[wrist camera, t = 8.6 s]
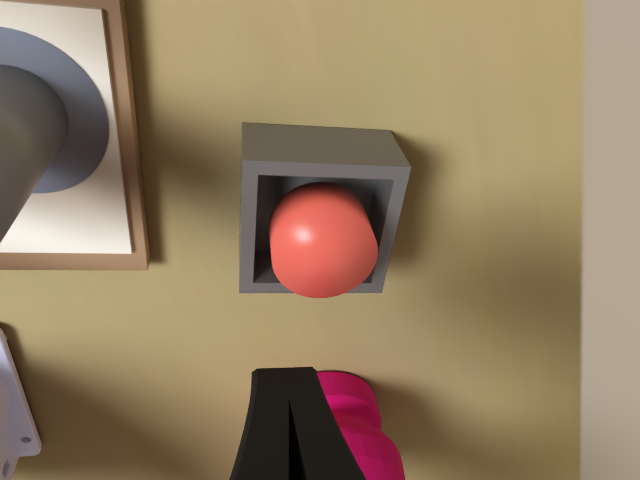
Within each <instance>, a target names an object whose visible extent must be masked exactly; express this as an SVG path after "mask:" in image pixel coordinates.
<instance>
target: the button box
mask: <svg viewBox="0 0 640 480" xmlns="http://www.w3.org/2000/svg"><path fill="white" fill-rule="evenodd" d="M410 171H411V166H410V164H409V162H408V160H407V159H406V157H405V155H404V153H403V152H402V150H401V148H400V147H399V145H398V143H397V141H396V140H395V138H394V136H393V134H392V133H391V131H390V130H372V129H353V128H335V127H316V126H297V125H278V124H259V123H242V155H241V195H240V235H239V293H294V292H292V291H290V290H289V289H287V288H286V287H285V286H284V285H283V284H282V283H281V282H280V281H279V280H278V279H277V277H276V275H275V273H274V270H273V267H272V260H271V248H270V236H269V219H270V215H271V212H272V210H273V208H274V206H275V205H276V203H277V202H278V201H279V200H280V199H281V198H282V197H283V196H284V195H285V194H286V193H288V192H289V191H291V190H292V189H294V188H296V187H298V186H301V185H303V184H307V183H312V182H331V183H336V184H339V185H342V186H344V187H346V188H348V189H349V190H351V191H352V192H353V193H354V194H355V195H357V197H358V198H359V199H360V200H361V202H362V204H363V206H364V209H365V211H366V214H367V217H368V220H369V222H370V225H371V228H372V230H373V233H374V236H375V239H376V241H377V246H378V256H377V261H376V264H375V266H374V268H373V270H372V272H371V273H370V275H369V276H368V277H367V278H366V279H365V280H364V281H363V282H362V283H361V284H359V285H358V286H357V287H355V288H354V289H352V290H350V291H348V292H346V293H382V289H383V285H384V281H385V276H386V272H387V268H388V264H389V260H390V255H391V251H392V247H393V243H394V239H395V234H396V230H397V226H398V222H399V217H400V213H401V209H402V205H403V201H404V196H405V192H406V188H407V184H408V179H409V175H410Z"/></svg>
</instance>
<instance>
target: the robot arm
mask: <svg viewBox="0 0 640 480" xmlns="http://www.w3.org/2000/svg"><path fill="white" fill-rule="evenodd" d="M41 448H42V444H41V441H40V438H39V435H38V432H37V429H36V426H35V423H34V420H33V417H32V414H31V411H30V408H29V405H28V402H27V400H26V397H25V394H24V391H23V388H22V385H21V382H20V379H19V376H18V373H17V370H16V367H15V364H14V361H13V358H12V356H11V353H10V350H9V347H8V344H7V341H6V338H5V335H4V332H3V331H2V329H1V328H0V480H11V479H12V476H13V473H14V471H15V468H16V465H17V462H18V460H19V457H21V456H34V455H37V454H39V453H40V451H41ZM229 480H367V479H366V478H365V476H364V474H363V472H362V471H361V469H360V467H359V465H358V463H357V462H356V460H355V458H354V456H353V454H352V452H351V450H350V448H349V446H348V444H347V442H346V440H345V438H344V436H343V434H342V432H341V430H340V428H339V426H338V424H337V422H336V420H335V417H334V415H333V413H332V411H331V409H330V406H329V404H328V401H327V399H326V397H325V394H324V392H323V389H322V386H321V383H320V381H319V378H318V375H317V371H316V370H315V369H314V368H313V367H295V368H262V369H256V370H255V371H253V372H252V383H251V396H250V402H249V408H248V413H247V418H246V422H245V427H244V431H243V435H242V438H241V442H240V446H239V449H238V453H237V457H236V460H235V464H234V467H233V470H232V473H231V476H230V479H229Z"/></svg>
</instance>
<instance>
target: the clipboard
mask: <svg viewBox="0 0 640 480" xmlns="http://www.w3.org/2000/svg"><path fill="white" fill-rule="evenodd" d="M0 65H10V66H15V67H18V68H21V69H24V70H27V71H29V72H31V73H33V74H34V75H36V76H38V77H39V78H41V79H42V80H43V81H45V82H46V83H47V84H48V85H49V86H50V87H52V89H53V90H54V91H55V92H56V93H57V94H58V96H59V97H60V99H61V100H62V102H63V104H64V106H65V108H66V111H67V115H68V120H69V130H68V135H67V138H66V140H65V142H64V143H63V145H62V147H61V148H60V150H59V151H58V153H57V154H56V156H55V158H54V159H53V161H52V162H51V164H50V166H49V167H48V169H47V170H46V172H45V173H44V175H43V177H42V178H41V180H40V181H39V183H38V185H37V186H36V188H35V189H34V191H33V192H32V194H31V196H30V197H29V199H28V200H27V202H26V204H25V205H24V207H23V208H22V210H21V211H20V213H19V215H18V216H17V218H16V219H15V221H14V222H13V224H12V226H11V227H10V229H9V230H8V232H7V234H6V235H5V237H4V238H3V240H2V241H1V243H0V270H148V266H149V262H150V251H149V241H148V231H147V221H146V211H145V201H144V190H143V180H142V170H141V160H140V150H139V140H138V130H137V120H136V110H135V100H134V90H133V80H132V70H131V60H130V50H129V40H128V30H127V20H126V10H125V0H0Z"/></svg>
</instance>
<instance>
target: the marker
mask: <svg viewBox="0 0 640 480" xmlns="http://www.w3.org/2000/svg"><path fill="white" fill-rule="evenodd" d="M68 130H69V120H68V115H67V111H66V108H65V106H64V104H63V102H62V100H61V99H60V97H59V96H58V94H57V93H56V92H55V91H54V90H53V89H52V87H50V86H49V85H48V84H47V83H46V82H45V81H43V80H42V79H41V78H39V77H38V76H36V75H34V74H33V73H31V72H29V71H27V70H24V69H21V68H18V67H15V66H10V65H0V243H1V241H2V240H3V238H4V237H5V235H6V234H7V232H8V230H9V229H10V227H11V226H12V224H13V222H14V221H15V219H16V218H17V216H18V215H19V213H20V211H21V210H22V208H23V207H24V205H25V204H26V202H27V200H28V199H29V197H30V196H31V194H32V192H33V191H34V189H35V188H36V186H37V185H38V183H39V181H40V180H41V178H42V177H43V175H44V173H45V172H46V170H47V169H48V167H49V166H50V164H51V162H52V161H53V159H54V158H55V156H56V154H57V153H58V151H59V150H60V148H61V147H62V145H63V143H64V142H65V140H66V138H67V135H68Z"/></svg>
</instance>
